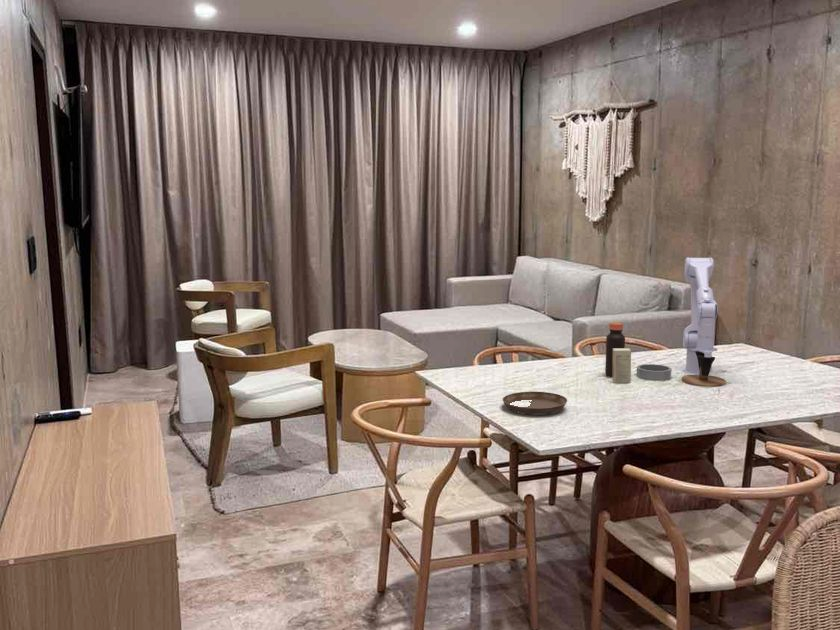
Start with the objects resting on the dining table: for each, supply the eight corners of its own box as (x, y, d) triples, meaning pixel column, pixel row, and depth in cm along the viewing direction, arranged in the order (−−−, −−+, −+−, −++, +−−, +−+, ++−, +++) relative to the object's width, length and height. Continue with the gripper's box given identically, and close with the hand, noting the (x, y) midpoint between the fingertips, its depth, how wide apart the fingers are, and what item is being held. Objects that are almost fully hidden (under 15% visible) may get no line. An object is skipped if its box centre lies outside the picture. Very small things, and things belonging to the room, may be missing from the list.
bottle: (627, 376, 293) (629, 324, 290) (612, 378, 291) (614, 325, 288) (616, 372, 300) (618, 321, 296) (601, 374, 297) (603, 322, 294)
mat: (699, 376, 293) (699, 375, 293) (732, 384, 281) (732, 382, 281) (674, 381, 285) (674, 380, 285) (707, 389, 274) (707, 388, 273)
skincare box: (629, 380, 288) (630, 348, 286) (630, 383, 284) (632, 350, 282) (611, 380, 288) (612, 347, 286) (612, 383, 284) (613, 350, 282)
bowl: (652, 373, 299) (652, 362, 298) (677, 379, 289) (678, 368, 288) (630, 377, 293) (630, 366, 292) (655, 383, 283) (655, 372, 282)
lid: (699, 374, 293) (700, 361, 292) (734, 382, 281) (735, 368, 280) (672, 380, 285) (673, 366, 284) (707, 388, 273) (708, 374, 272)
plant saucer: (489, 410, 251) (489, 400, 251) (524, 396, 267) (525, 387, 266) (545, 422, 238) (545, 411, 238) (578, 407, 254) (579, 397, 253)
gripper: (720, 340, 273) (718, 378, 275) (714, 332, 286) (712, 369, 289) (699, 339, 274) (697, 377, 276) (694, 332, 288) (692, 368, 290)
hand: (703, 373), depth 282 cm, fingers open, 7 cm apart
